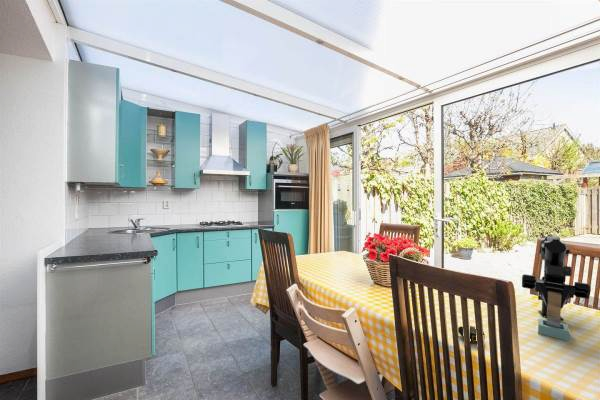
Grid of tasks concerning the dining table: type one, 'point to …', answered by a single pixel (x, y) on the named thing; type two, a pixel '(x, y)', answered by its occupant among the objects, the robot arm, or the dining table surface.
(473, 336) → the tape measure
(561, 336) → the square teal collar
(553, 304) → the square wooden post
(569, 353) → the dining table surface
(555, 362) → the dining table surface
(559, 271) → the robot arm
